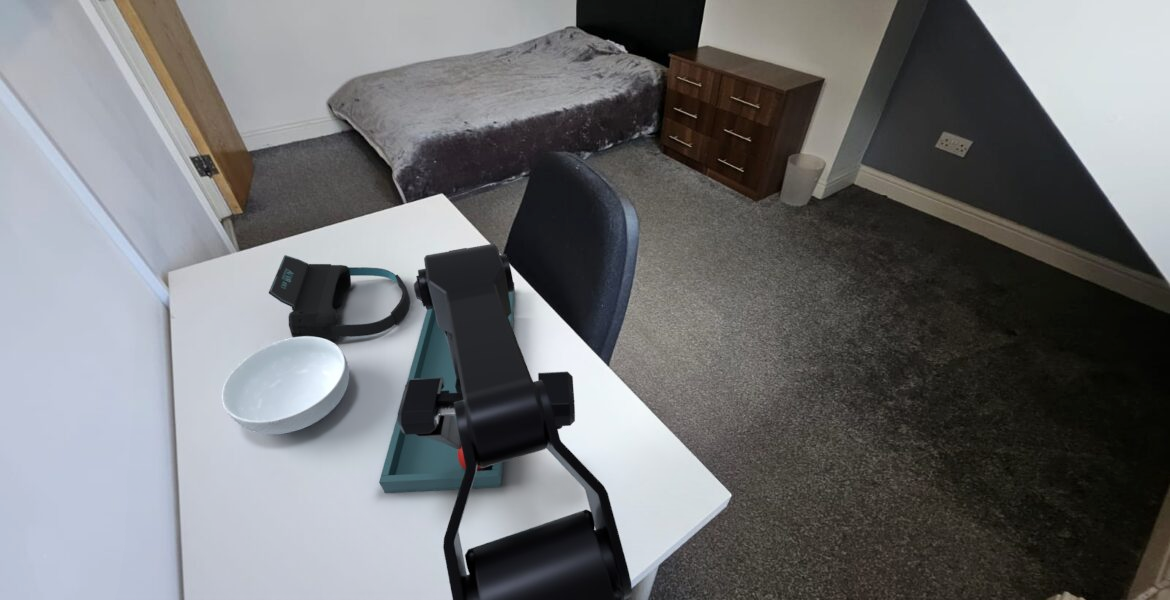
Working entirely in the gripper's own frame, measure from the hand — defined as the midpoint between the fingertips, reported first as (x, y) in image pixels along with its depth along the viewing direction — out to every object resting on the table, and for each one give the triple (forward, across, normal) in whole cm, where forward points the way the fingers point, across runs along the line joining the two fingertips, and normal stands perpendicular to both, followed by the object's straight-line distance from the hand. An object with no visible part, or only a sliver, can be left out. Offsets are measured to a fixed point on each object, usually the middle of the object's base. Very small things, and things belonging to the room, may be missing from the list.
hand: (498, 443), depth 58 cm
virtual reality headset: (+11, +32, -39) cm, 52 cm away
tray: (+12, +9, -22) cm, 26 cm away
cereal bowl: (+12, +34, -17) cm, 40 cm away
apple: (+11, +4, -4) cm, 13 cm away
